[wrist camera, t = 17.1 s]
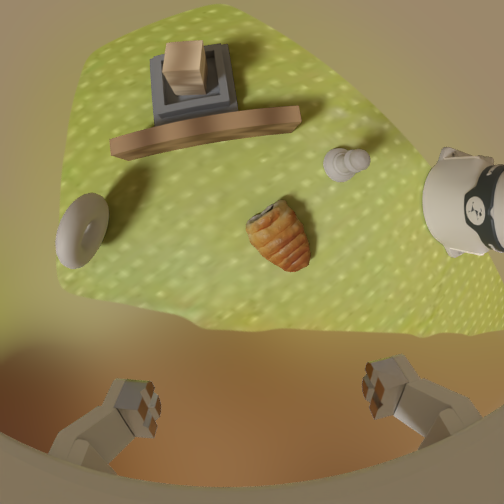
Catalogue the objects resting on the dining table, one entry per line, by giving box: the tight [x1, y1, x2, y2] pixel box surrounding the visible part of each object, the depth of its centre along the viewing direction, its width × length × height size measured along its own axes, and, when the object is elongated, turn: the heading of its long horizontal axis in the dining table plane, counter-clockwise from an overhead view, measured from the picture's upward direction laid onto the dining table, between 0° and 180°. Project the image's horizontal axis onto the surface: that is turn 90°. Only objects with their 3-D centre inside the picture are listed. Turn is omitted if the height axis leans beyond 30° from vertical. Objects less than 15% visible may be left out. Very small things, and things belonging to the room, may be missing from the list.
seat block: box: [150, 44, 238, 127], centre depth 31 cm, size 11×11×3 cm
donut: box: [56, 193, 109, 269], centre depth 30 cm, size 10×4×10 cm, turn 155°
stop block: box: [162, 40, 208, 96], centre depth 27 cm, size 4×4×8 cm
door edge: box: [110, 106, 302, 161], centre depth 31 cm, size 22×2×6 cm, turn 99°
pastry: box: [246, 200, 311, 272], centre depth 36 cm, size 9×7×4 cm
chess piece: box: [323, 148, 370, 182], centre depth 32 cm, size 5×5×8 cm
